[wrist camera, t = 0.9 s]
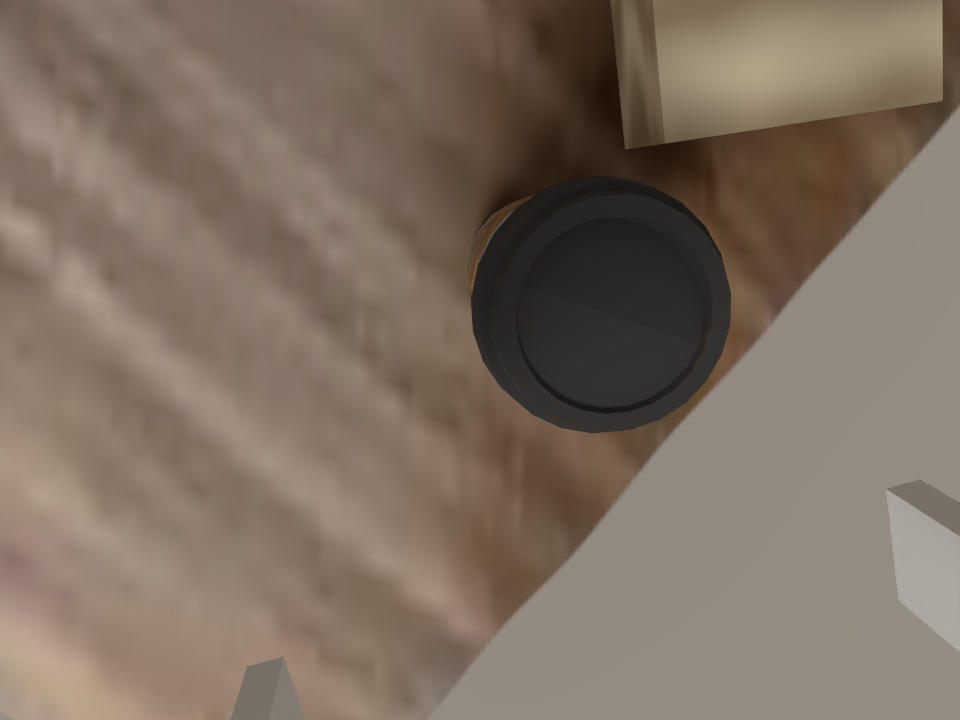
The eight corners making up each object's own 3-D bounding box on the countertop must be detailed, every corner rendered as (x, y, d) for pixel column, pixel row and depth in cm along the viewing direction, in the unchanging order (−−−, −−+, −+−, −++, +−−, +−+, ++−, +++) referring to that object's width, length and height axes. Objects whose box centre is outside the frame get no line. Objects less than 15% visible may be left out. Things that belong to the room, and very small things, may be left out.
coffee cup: (480, 152, 36) (534, 132, 22) (639, 211, 38) (791, 229, 23) (424, 318, 38) (439, 403, 23) (579, 368, 39) (686, 479, 25)
